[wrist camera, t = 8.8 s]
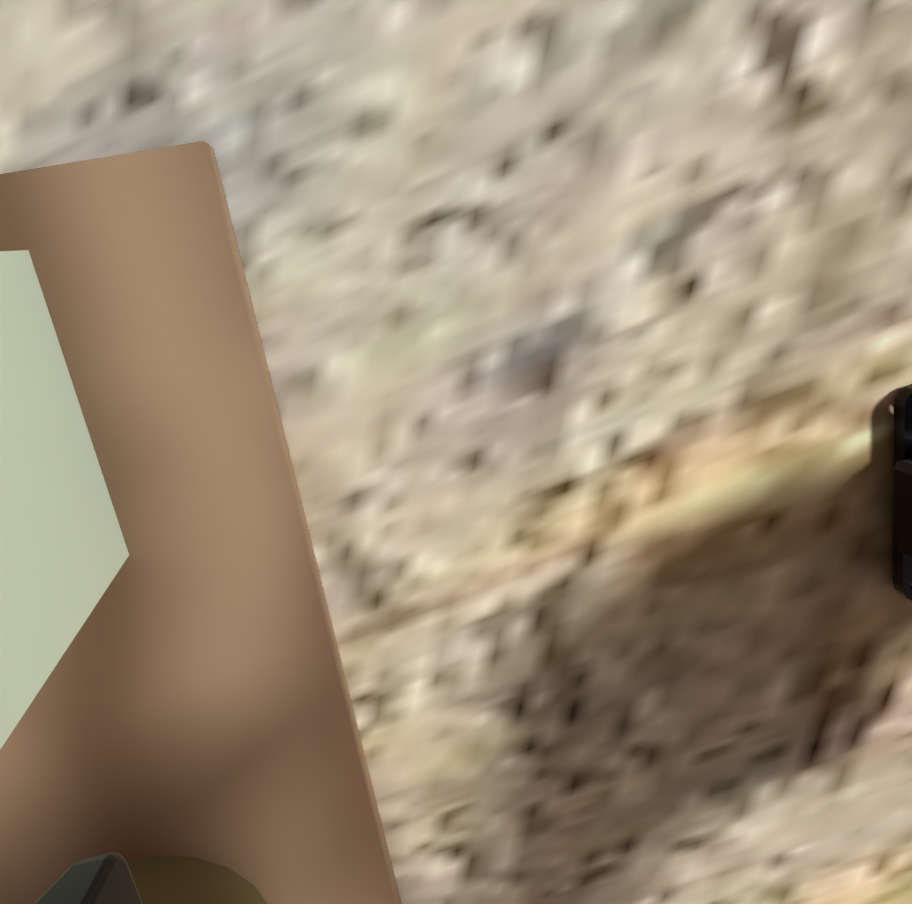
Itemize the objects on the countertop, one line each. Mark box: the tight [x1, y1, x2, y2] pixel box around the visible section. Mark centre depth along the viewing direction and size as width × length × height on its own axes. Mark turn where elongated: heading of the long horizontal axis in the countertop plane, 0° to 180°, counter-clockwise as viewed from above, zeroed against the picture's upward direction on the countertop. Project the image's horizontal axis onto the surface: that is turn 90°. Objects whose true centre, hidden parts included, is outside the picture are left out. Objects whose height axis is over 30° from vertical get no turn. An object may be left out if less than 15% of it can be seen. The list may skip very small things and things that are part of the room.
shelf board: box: [0, 141, 402, 904], centre depth 19 cm, size 11×28×3 cm, turn 10°
